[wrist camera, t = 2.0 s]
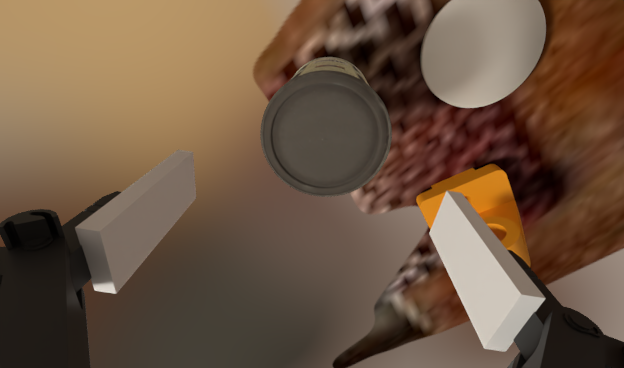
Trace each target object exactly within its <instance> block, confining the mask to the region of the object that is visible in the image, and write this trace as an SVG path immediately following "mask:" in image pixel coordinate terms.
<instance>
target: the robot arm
mask: <svg viewBox="0 0 624 368" xmlns="http://www.w3.org/2000/svg"><path fill="white" fill-rule="evenodd" d="M195 198H196V191H195V176H194V160H193V152H190V151H182V150H177V151H176V152H175V153H173V154H172V155H170V156H169V157H168V158H167V159H165V160H164V161H163V162H161V163H160V164H159V165H157V166H156V167H155V168H153V169H152V170H151V171H149V172H148V173H147V174H145V175H144V176H143V177H142V178H140V179H139V180H137V181H136V182H135V183H134V184H132V185H131V186H129V187H128V188H127V189H125V190H124V191H123V192H118V191H117V192H114V193H111V194H109V195H106V196H104V197H102V198H101V199H99V200H98V201H97V202H95V203H94V204H93V206H92V205H91V206H89V207H88V208H87V209H85V211H84V212H83V211H82V212H81V213H80V214H78V215H77V216H76V217H74V218H73V219H71V220H70V221H69V222H67V223H66V224H64V225H63V226H61V224H60V221H59V218H58V215H57V213H56V212H54V211H51V210H44V209H40V210H30V211H26V212H22V213H18V214H16V215H14V216H11V217H9V218H7V219H6V220H4V221H3V222H1V223H0V235H1V237H2V239H3V241H4V243H5V246H6V247H0V368H91V367H90V355H89V343H88V331H87V319H86V308H85V296H84V291H83V288H82V287H83V286H84V285H85V284H86V283H87V282H88V281H89V280H90V279H91V281H92V284H93V287H94V290H95V291H101V292H108V293H115V294H116V293H117V292H118V291H119V289H121V287H122V286H123V285H124V284H125V283H126V281H127V280H128V279H129V278H130V277H131V275H132V274H133V273H134V272H135V271H136V269H137V268H138V267H139V266H140V265H141V263H142V262H143V261H144V260H145V259H146V257H147V256H148V255H149V254H150V253H151V251H152V250H153V249H154V248H155V247H156V245H157V244H158V243H159V242H160V241H161V239H162V238H163V237H164V236H165V234H166V233H167V232H168V231H169V230H170V229H171V227H172V226H173V225H174V223H176V221H177V220H178V219H179V218H180V217H181V215H182V214H183V213H184V212H185V210H186V209H187V208H188V207H189V206H190V204H191V203H192V202H193V201H194V200H195ZM429 234H430V236H431V238H432V240H433V242H434V244H435V246H436V249H437V251H438V253H439V255H440V257H441V259H442V261H443V263H444V265H445V267H446V270H447V272H448V274H449V276H450V278H451V280H452V282H453V284H454V286H455V288H456V290H457V293H458V295H459V297H460V299H461V301H462V303H463V305H464V307H465V309H466V311H467V313H468V316H469V318H470V320H471V322H472V324H473V326H474V328H475V330H476V332H477V334H478V336H479V339H480V341H481V343H482V345H483V347H484V349H490V350H497V351H504V352H506V350H507V349H508V348H509V347H510V345H511V344H512V342H513V341H514V342H515V343H516V345H517V347H518V348H519V350H520V352H519V354H518V355H517V356H516V357H515V359H514V360H513V361H512V362H511V364H510V365H509V366H508V368H624V342H622V341H619V340H617V339H614V338H611V337H608V336H606V335H603V332H602V331H601V330H600V329H599V327H598V326H597V325H596V324H595V323H594V322H592V321H591V320H590V319H589V318H587V317H586V316H584V315H583V314H581V313H579V312H577V311H575V310H573V309H571V308H567V307H563V306H562V305H561V304H560V303H559V302H558V301H557V299H556V298H555V297H554V296H553V295H552V293H551V292H550V291H549V290H548V289H547V287H546V286H545V285H544V284H543V283H542V281H541V280H540V279H538V277H537V275H536V274H535V273H534V272H533V271H531V268H530V267H529V266H528V265H527V264H526V262H525V261H524V260H523V259H522V258H521V257H519V256H518V255H517V254H515V253H514V252H513V251H512V250H507V249H506V248H505V247H504V245H503V244H502V243H501V242H500V240H499V239H498V238H497V237H496V235H495V234H494V233H493V232H492V230H491V229H490V228H489V227H488V225H487V224H486V223H485V222H484V220H483V219H482V218H481V217H480V215H479V214H478V213H477V212H476V210H475V209H474V208H473V207H472V205H471V204H470V203H469V202H468V200H467V199H466V198H465V197H464V195H463V194H462V193H459V192H453V191H446V193H445V196H444V198H443V201H442V203H441V206H440V208H439V210H438V213H437V215H436V218H435V220H434V223H433V225H432V227H431V230H430V232H429Z"/></svg>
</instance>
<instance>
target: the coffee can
mask: <svg viewBox="0 0 624 368" xmlns="http://www.w3.org/2000/svg"><path fill="white" fill-rule="evenodd" d="M391 139H392V129H391V122H390V118H389V114H388V111H387V109H386V107H385V105H384V103H383V101H382V100H381V98H380V97H379V96H378V95H377V93H376V92H375V91H374V90H373V89H372V88H371V87H370V86H369V84H368V83H367V81H366V79H365V77H364V75H363V74H362V73H361V71H360V70H359V69H358V68H357V67H356V66H354V65H353V64H352V63H350V62H348V61H346V60H344V59H341V58H336V57H323V58H318V59H315V60H312V61H310V62H308V63H307V64H305V65H304V66H302V67H301V68H300V69H299V70H298V71H297V72H296V74H295V75H294V77H293V78H292V79H291V80H290V81H289V82H288V83H286V84H285V85H284V86H283V87H281V88H280V89H279V90H278V91H277V92H276V93H275V95H274V96H273V97H272V99H271V100H270V102H269V104H268V106H267V107H266V110H265V112H264V115H263V119H262V124H261V144H262V148H263V152H264V155H265V157H266V159H267V162H268V163H269V165H270V167H271V168H272V170H273V171H274V173H275V174H276V175H277V176H278V177H279V178H280V179H281V180H283V181H284V182H285V183H286V184H287V185H289V186H290V187H292V188H294V189H296V190H298V191H300V192H303V193H305V194H309V195H314V196H321V197H332V196H339V195H343V194H347V193H350V192H352V191H354V190H356V189H358V188H360V187H362V186H363V185H365V184H366V183H368V182H369V181H370V180H371V179H372V178H373V177H374V176H375V175H376V174H377V173H378V172H379V170H380V169H381V167H382V166H383V164H384V162H385V160H386V158H387V156H388V153H389V150H390V145H391Z"/></svg>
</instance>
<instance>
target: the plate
mask: <svg viewBox="0 0 624 368" xmlns="http://www.w3.org/2000/svg"><path fill="white" fill-rule="evenodd" d="M545 37H546V20H545V15H544V11H543V9H542V6H541V4H540V2H539V1H538V0H450V1H449V2H447V3H446V4H445V5H444V6H443V7H442V8H441V9H440V10H439V12H438V13H437V14H436V16H435V17H434V18H433V20H432V22H431V23H430V25H429V27H428V29H427V31H426V33H425V36H424V39H423V42H422V47H421V53H420V66H421V72H422V75H423V79H424V81H425V83H426V85H427V86H428V88H429V89H430V90H431V92H432V93H433V94H434V95H436V96H437V97H438V98H439V99H441V100H443V101H444V102H446V103H448V104H450V105H453V106H457V107H462V108H476V107H482V106H486V105H489V104H492V103H494V102H497V101H499V100H501V99H502V98H504V97H506V96H507V95H509V94H510V93H512V92H513V91H514V90H515V89H516V88H518V87H519V86H520V85H521V84H522V83H523V82H524V81H525V79H526V78H527V77H528V76H529V75H530V73H531V72H532V70H533V69H534V67H535V65H536V64H537V62H538V60H539V58H540V55H541V53H542V50H543V46H544V43H545Z"/></svg>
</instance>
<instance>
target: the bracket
mask: <svg viewBox="0 0 624 368" xmlns="http://www.w3.org/2000/svg"><path fill="white" fill-rule="evenodd" d="M431 187H432V189H430V190H428V191H426V192H423V193H421V194H419V195H418V197H417V199H416V201H417V203H418V205H419V208H420V210H421V212H422V214H423V216H424V217H425V220H426V221H427V224H428V226H429V228H430V230H431V227H432V225H433V223H434V220H435V218H436V215H437V213H438V210H439V208H440V206H441V203H442V201H443V198H444V196H445V193H446V191H453V192H459V193H462V194H463V195H464V197H465V198H466V199H467V200H468V202H469V203H470V204H471V205H472V207H473V208H474V209H475V210H476V212H477V213H478V214H479V215H480V217H481V218H482V219H483V220H484V222H485V223H486V224H487V225H488V227H489V228H490V229H491V230H492V232H493V233H494V234H495V235H496V237H497V238H498V239H499V240H500V242H501V243H502V244H503V245H504V247H505V248H506V249H507V250H512V251H513V252H514V253H515V254H517V255H518V256H519V257H521V258H522V259H523V260H524V261H525V262H526V264H527V265H528V266H529V267H530V258H529V254H528V249H527V245H526V241H525V236H524V232H523V227H522V223H521V219H520V214H519V211H518V208H517V205H516V202H515V199H514V196H513V193H512V190H511V187H510V184H509V181H508V178H507V175H506V173H505V172H504V171H503V170H502V169H501V168H500V167H498V166H497V165H495V164H489V165H486V166H484V167H482V168H479V169H477V170H475V169H474V168H471V169H469V170H467V171H464V172H462V173H460V174H457V175H455V176H453V177H450V178H448V179H446V180H443V181H441V182H439V183H436V184H434V185H432V186H431Z"/></svg>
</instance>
